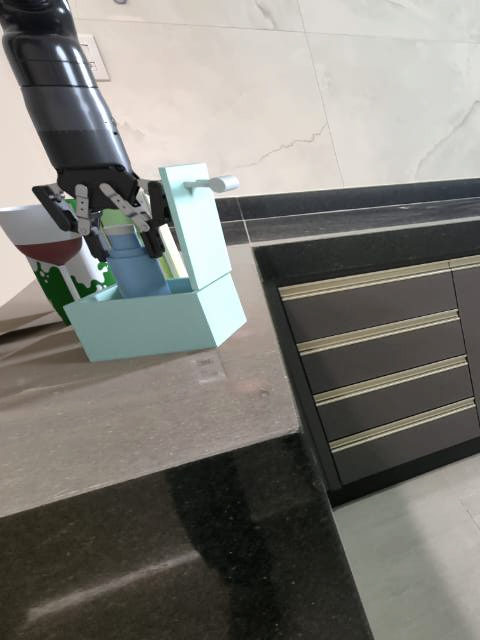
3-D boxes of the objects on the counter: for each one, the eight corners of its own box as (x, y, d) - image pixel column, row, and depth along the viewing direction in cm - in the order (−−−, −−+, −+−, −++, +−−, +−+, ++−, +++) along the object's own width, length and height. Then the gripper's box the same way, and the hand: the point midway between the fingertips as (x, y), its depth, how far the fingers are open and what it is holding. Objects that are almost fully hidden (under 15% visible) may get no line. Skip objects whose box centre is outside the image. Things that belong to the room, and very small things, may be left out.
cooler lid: (157, 167, 66) (210, 169, 68) (199, 162, 77) (244, 164, 79) (192, 290, 72) (239, 289, 74) (226, 270, 83) (267, 269, 85)
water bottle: (133, 343, 76) (83, 230, 69) (152, 331, 80) (106, 224, 74) (176, 338, 77) (131, 227, 71) (192, 326, 82) (150, 221, 75)
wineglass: (43, 344, 82) (-27, 212, 74) (84, 325, 90) (25, 204, 82) (102, 338, 84) (40, 209, 75) (138, 321, 91) (85, 201, 83)
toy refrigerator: (136, 331, 86) (77, 198, 78) (145, 319, 92) (91, 194, 84) (197, 321, 90) (146, 193, 82) (202, 310, 96) (155, 190, 87)
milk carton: (131, 317, 93) (78, 200, 85) (59, 330, 88) (-5, 207, 80) (130, 307, 99) (80, 196, 91) (62, 319, 94) (4, 203, 86)
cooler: (93, 368, 73) (62, 306, 69) (139, 338, 83) (115, 283, 79) (219, 352, 76) (196, 293, 73) (249, 326, 87) (230, 272, 83)
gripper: (-19, 129, 62) (50, 270, 69) (129, 126, 66) (180, 260, 73) (27, 129, 69) (86, 258, 76) (159, 126, 72) (203, 249, 79)
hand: (132, 258), depth 74 cm, fingers closed on water bottle, 5 cm apart
